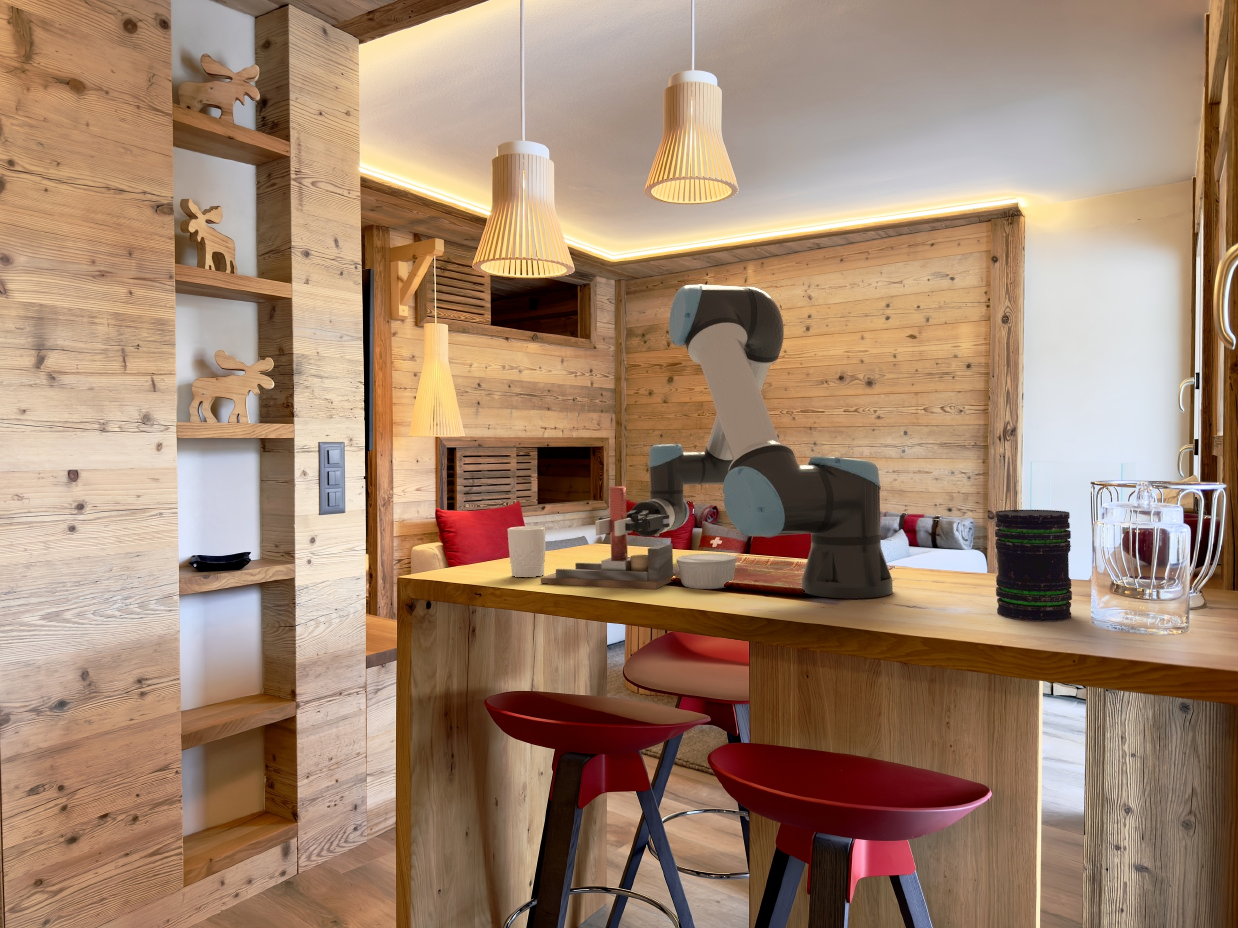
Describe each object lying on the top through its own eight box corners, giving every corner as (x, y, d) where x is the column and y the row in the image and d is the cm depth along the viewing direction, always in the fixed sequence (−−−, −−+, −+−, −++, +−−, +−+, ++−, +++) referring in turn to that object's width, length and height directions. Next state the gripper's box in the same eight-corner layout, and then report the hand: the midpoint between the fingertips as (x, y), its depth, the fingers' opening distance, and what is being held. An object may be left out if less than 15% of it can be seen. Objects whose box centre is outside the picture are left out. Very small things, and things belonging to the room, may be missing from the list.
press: (675, 579, 158) (674, 542, 157) (656, 588, 147) (654, 549, 147) (566, 575, 167) (565, 540, 167) (540, 583, 157) (539, 546, 157)
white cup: (550, 572, 171) (548, 525, 171) (542, 578, 164) (541, 529, 163) (513, 573, 172) (512, 526, 172) (504, 578, 164) (503, 530, 164)
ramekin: (676, 590, 146) (675, 561, 146) (678, 580, 157) (677, 553, 157) (738, 590, 145) (737, 560, 144) (736, 580, 156) (735, 552, 156)
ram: (637, 572, 158) (635, 486, 158) (625, 577, 152) (623, 487, 152) (614, 571, 160) (611, 486, 160) (601, 576, 154) (599, 487, 154)
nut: (651, 578, 152) (650, 557, 152) (630, 578, 153) (629, 557, 153) (652, 574, 156) (652, 554, 156) (632, 575, 157) (631, 554, 157)
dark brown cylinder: (1089, 617, 114) (1087, 512, 114) (1036, 624, 111) (1034, 516, 111) (1030, 605, 124) (1028, 508, 123) (981, 611, 120) (978, 511, 120)
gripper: (688, 535, 169) (647, 549, 148) (617, 534, 176) (568, 547, 154) (687, 499, 169) (646, 508, 148) (616, 500, 176) (567, 508, 154)
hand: (607, 528), depth 151 cm, fingers closed on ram, 3 cm apart
